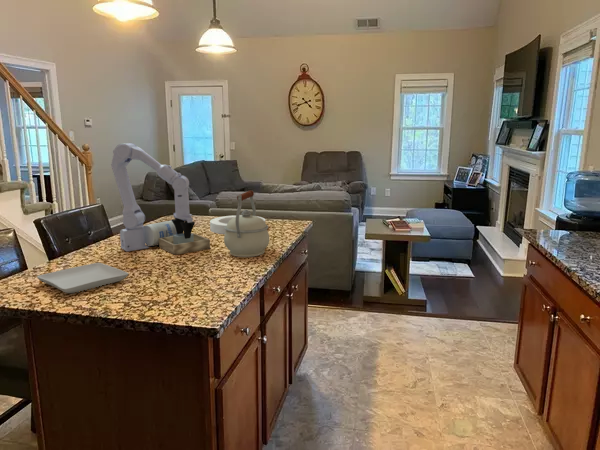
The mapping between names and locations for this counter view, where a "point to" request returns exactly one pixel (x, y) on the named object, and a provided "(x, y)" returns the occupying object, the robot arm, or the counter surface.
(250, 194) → the kettle
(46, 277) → the salad plate
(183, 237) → the small crate
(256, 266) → the counter surface
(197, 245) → the square wooden tray
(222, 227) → the ring with crossbar
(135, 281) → the counter surface
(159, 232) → the supplement tub
